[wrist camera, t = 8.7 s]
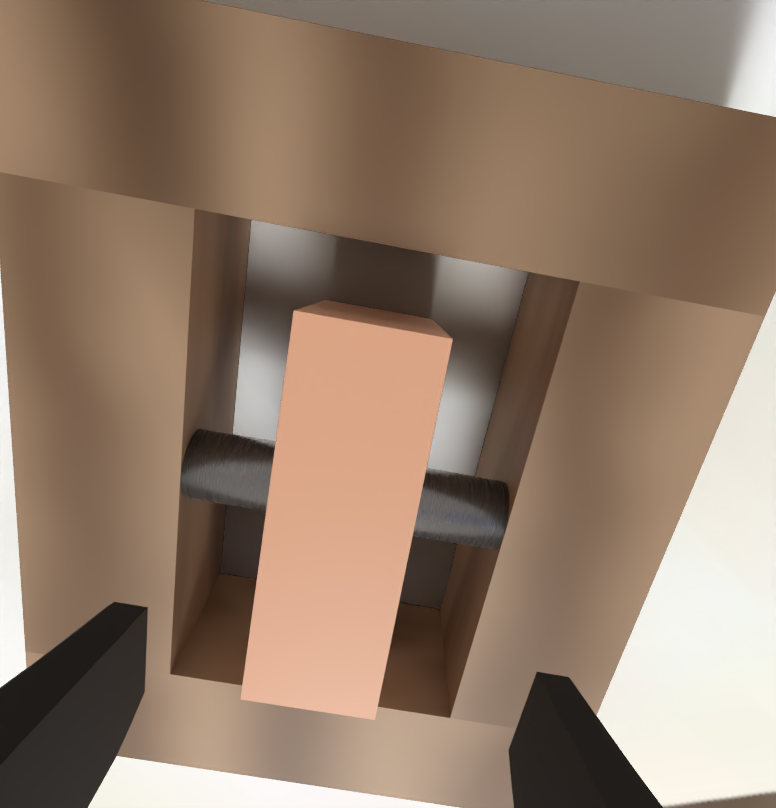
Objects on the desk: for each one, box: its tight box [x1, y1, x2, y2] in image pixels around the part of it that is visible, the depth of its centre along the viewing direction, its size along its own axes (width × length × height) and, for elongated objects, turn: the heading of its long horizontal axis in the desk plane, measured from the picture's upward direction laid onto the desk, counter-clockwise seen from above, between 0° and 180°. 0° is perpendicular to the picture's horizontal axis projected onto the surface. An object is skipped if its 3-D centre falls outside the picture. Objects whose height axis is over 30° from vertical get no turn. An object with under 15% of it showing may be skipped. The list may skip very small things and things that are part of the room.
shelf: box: [0, 0, 776, 808], centre depth 17 cm, size 18×22×5 cm
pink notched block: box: [240, 300, 453, 720], centre depth 16 cm, size 4×10×6 cm, turn 170°
